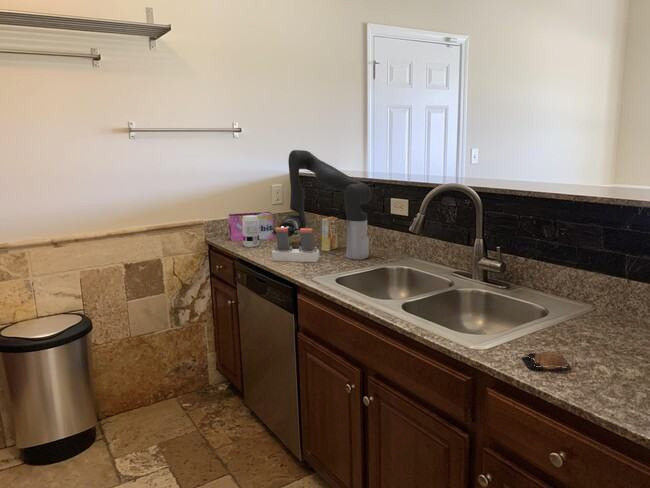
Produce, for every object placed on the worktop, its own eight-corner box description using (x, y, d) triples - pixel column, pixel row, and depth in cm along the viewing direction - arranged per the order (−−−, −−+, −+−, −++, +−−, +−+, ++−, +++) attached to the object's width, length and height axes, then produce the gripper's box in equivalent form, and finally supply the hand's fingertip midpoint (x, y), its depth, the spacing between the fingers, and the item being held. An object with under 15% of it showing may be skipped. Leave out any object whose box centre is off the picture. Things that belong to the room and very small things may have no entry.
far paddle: (289, 249, 222) (287, 227, 216) (289, 250, 221) (286, 229, 215) (278, 248, 223) (276, 227, 217) (277, 250, 221) (275, 229, 216)
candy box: (330, 247, 247) (330, 216, 244) (337, 247, 245) (337, 217, 242) (321, 250, 239) (321, 219, 236) (328, 251, 237) (328, 219, 234)
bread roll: (561, 359, 123) (563, 345, 122) (577, 375, 115) (579, 360, 114) (518, 359, 123) (519, 345, 122) (530, 374, 115) (532, 360, 114)
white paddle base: (319, 258, 223) (319, 245, 222) (316, 262, 217) (316, 249, 215) (275, 257, 226) (275, 244, 225) (272, 260, 219) (271, 247, 218)
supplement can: (239, 246, 248) (238, 216, 245) (249, 243, 255) (248, 214, 252) (253, 248, 245) (252, 218, 241) (262, 245, 252) (261, 215, 249)
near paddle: (314, 249, 220) (312, 228, 215) (313, 251, 219) (311, 230, 213) (302, 249, 221) (300, 228, 215) (301, 251, 220) (300, 230, 214)
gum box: (229, 241, 260) (228, 216, 257) (227, 239, 267) (226, 214, 264) (274, 238, 268) (273, 213, 265) (270, 236, 275) (269, 211, 272)
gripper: (275, 219, 235) (265, 225, 219) (302, 220, 234) (294, 226, 217) (275, 235, 237) (265, 242, 220) (302, 236, 235) (295, 243, 218)
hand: (280, 234), depth 218 cm, fingers closed
